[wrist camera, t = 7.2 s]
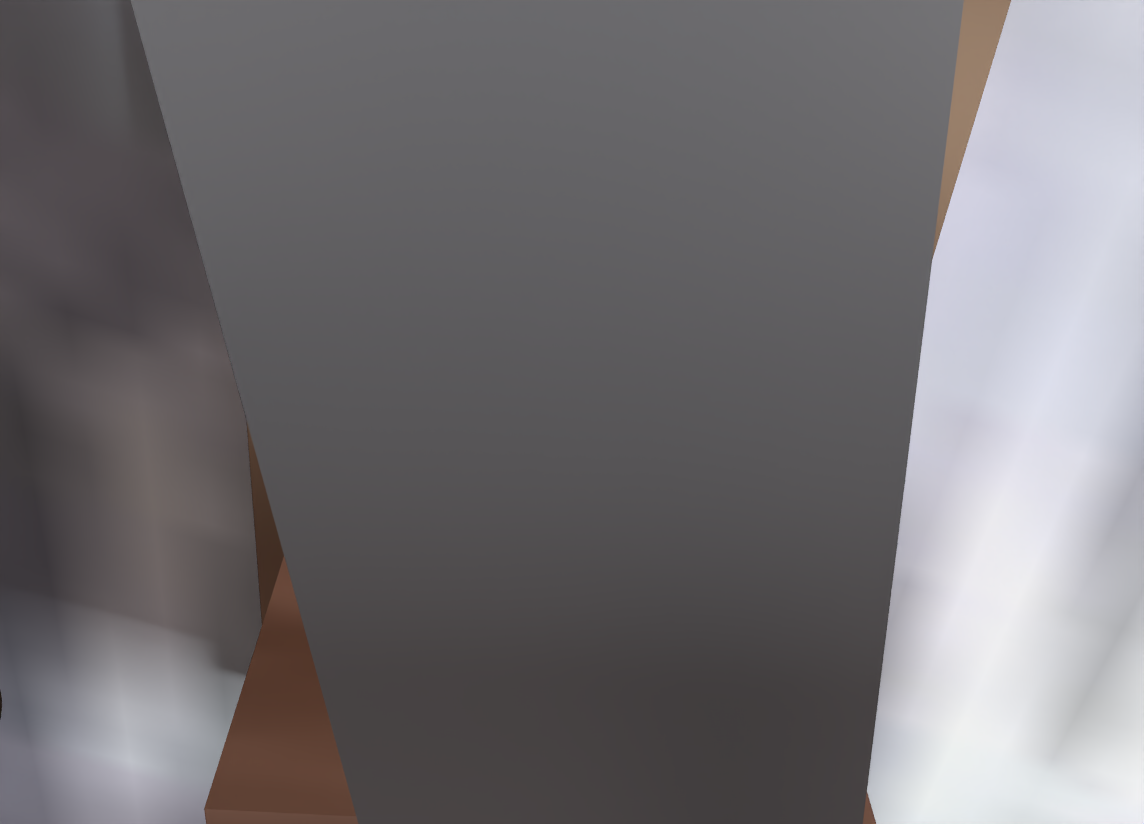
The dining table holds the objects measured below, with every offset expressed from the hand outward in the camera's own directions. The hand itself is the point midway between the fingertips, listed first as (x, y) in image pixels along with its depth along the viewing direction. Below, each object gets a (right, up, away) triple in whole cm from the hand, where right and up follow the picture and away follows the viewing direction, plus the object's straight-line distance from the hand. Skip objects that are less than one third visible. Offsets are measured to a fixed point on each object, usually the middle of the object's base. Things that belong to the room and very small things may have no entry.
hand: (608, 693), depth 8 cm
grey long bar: (0, +1, +2) cm, 2 cm away
